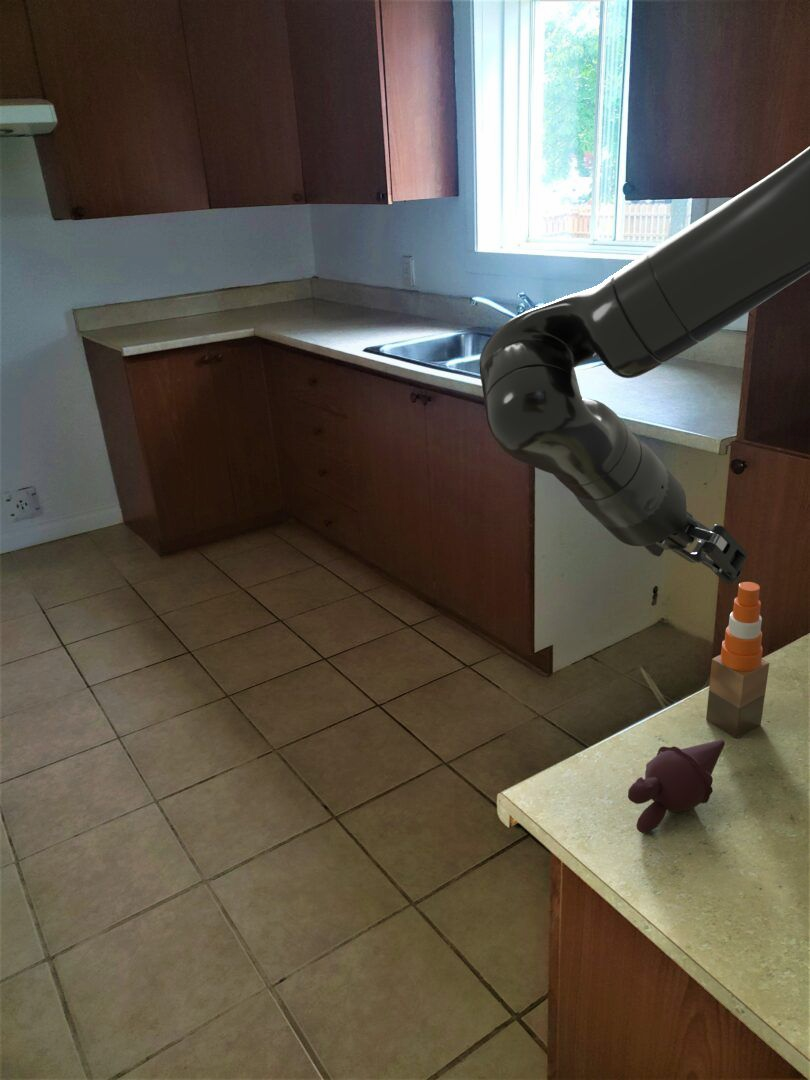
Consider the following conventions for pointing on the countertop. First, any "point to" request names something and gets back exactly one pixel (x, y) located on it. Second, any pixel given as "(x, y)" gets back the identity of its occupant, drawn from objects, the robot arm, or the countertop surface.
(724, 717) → the block bottom
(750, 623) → the cone
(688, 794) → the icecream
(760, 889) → the countertop surface
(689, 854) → the countertop surface
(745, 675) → the block top
